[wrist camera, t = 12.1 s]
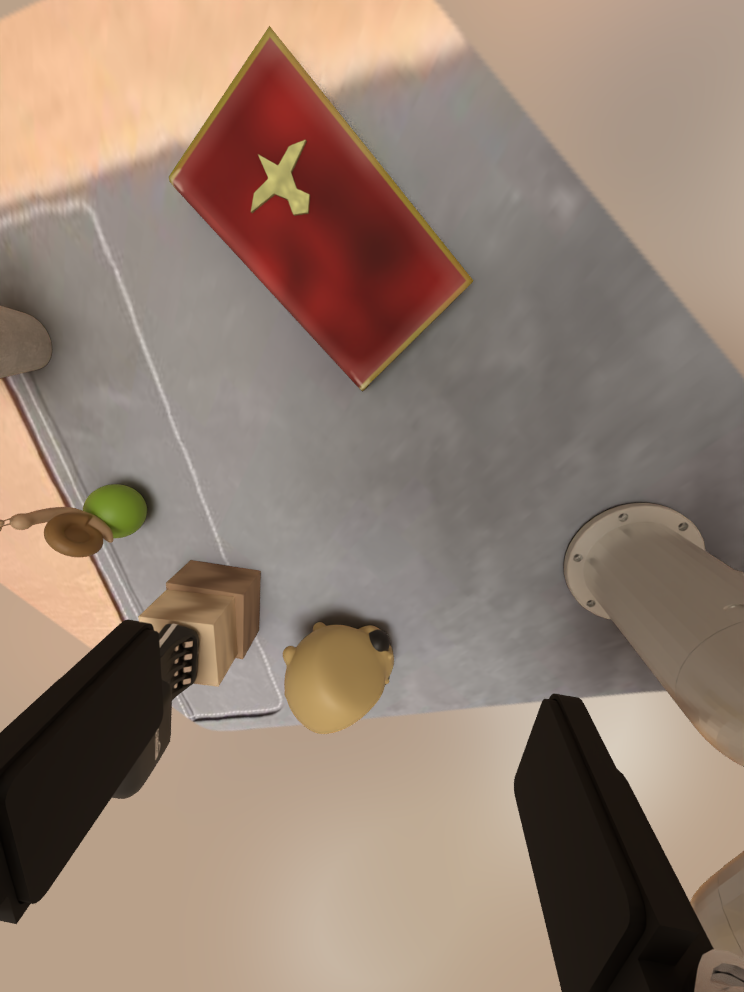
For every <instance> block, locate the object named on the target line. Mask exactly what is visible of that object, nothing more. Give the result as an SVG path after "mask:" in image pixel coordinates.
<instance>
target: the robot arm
mask: <svg viewBox="0 0 744 992" xmlns="http://www.w3.org/2000/svg"><path fill="white" fill-rule="evenodd" d="M620 514H621V515H620ZM619 515H620V516H619ZM564 576H565V580H566V583H567V586H568V588H569V589H570V591H571V593H572V595H573V596H574V597H575V599H576V600H577V601H578V602H579V603H580V604H581V605H582V606H583V607H584V608H585V609H586V610H588V611H590V612H592V613H593V614H595V615H597V616H600V617H603V618H606V619H611V620H612V621H613V622H614V623H615V625H616V626H617V627H618V629H619V630H620V631H621V632H622V634H623V635H624V636H625V638H626V639H627V640H628V641H629V643H630V644H631V645H632V647H633V648H634V649H635V651H636V652H637V653H638V654H639V656H640V657H641V658H642V660H643V661H644V662H645V663H646V665H647V666H648V667H649V669H650V670H651V671H652V673H653V674H654V675H655V676H656V678H657V679H658V680H659V682H660V683H661V684H662V686H663V687H664V688H665V689H666V691H667V692H668V693H669V694H670V696H671V697H672V698H673V700H674V701H675V702H676V703H677V705H678V706H679V707H680V709H681V710H682V711H683V712H684V714H685V715H686V717H687V718H688V719H689V720H690V721H691V723H692V724H693V725H694V727H695V728H696V729H697V730H698V732H699V733H700V734H701V735H702V736H703V737H704V738H705V739H706V740H707V741H708V742H709V743H710V744H711V745H712V746H713V747H715V748H716V749H717V750H718V751H719V752H721V753H722V754H724V755H725V756H727V757H728V758H729V759H731V760H732V761H734V762H736V763H737V764H739V765H742V766H743V767H744V573H743V572H742V571H737V570H734V569H732V568H731V567H729V566H728V565H726V564H725V563H723V562H722V561H720V560H718V559H717V558H715V557H714V556H712V555H711V554H709V553H708V552H706V550H705V544H704V540H703V538H702V536H701V534H700V532H699V530H698V529H697V528H696V526H695V525H694V524H693V523H692V522H691V521H690V520H689V519H687V518H686V517H685V516H683V515H682V514H680V513H678V512H676V511H675V510H673V509H670V508H668V507H665V506H662V505H658V504H651V503H632V504H626V505H621V506H618V507H615V508H612V509H609V510H607V511H605V512H603V513H601V514H599V515H598V516H596V517H594V518H593V519H592V520H590V521H589V522H588V523H586V524H585V525H584V526H583V527H582V528H581V529H580V531H579V532H578V533H577V534H576V535H575V537H574V538H573V540H572V541H571V543H570V545H569V547H568V550H567V552H566V555H565V561H564ZM163 712H164V711H163V694H162V677H161V660H160V642H159V633H158V632H157V631H154V627H153V625H152V624H150V623H145V622H139V621H133V620H125V621H123V622H122V623H121V624H119V625H118V626H117V627H116V628H115V629H114V630H113V631H112V632H111V633H110V634H109V635H107V636H106V637H105V638H104V639H103V640H102V641H101V642H100V643H99V644H98V645H96V646H95V647H94V648H93V649H92V650H91V651H90V652H89V653H88V654H87V655H86V656H85V657H83V658H82V659H81V660H80V661H79V662H78V663H77V664H76V665H75V666H74V667H72V668H71V669H70V670H69V671H68V672H67V673H66V674H65V675H64V676H63V677H61V678H60V679H59V680H58V681H57V682H55V683H54V684H53V685H52V686H51V687H50V688H49V689H48V690H47V691H45V692H44V693H43V694H42V695H41V696H40V697H39V698H38V699H37V700H36V701H35V702H33V703H32V704H31V705H30V706H29V707H28V708H27V709H26V710H25V711H24V712H22V713H21V714H20V715H19V716H18V717H17V718H16V719H15V720H14V721H13V722H11V723H10V724H9V725H8V726H7V727H6V728H5V729H4V730H3V731H2V732H1V733H0V921H4V922H9V923H14V924H17V922H18V921H19V920H20V918H21V917H22V915H23V914H24V912H25V911H26V910H27V908H28V907H29V905H30V904H31V903H32V904H34V903H37V902H38V901H40V900H41V899H42V897H43V896H44V895H45V894H46V893H47V891H48V890H49V889H50V887H51V886H52V884H53V882H54V881H55V880H56V878H57V877H58V875H59V874H60V872H61V871H62V869H63V868H64V867H65V865H66V864H67V862H68V861H69V859H70V858H71V856H72V855H73V853H74V852H75V850H76V849H77V848H78V846H79V845H80V843H81V842H82V840H83V838H84V837H85V835H86V834H87V833H88V831H89V830H90V828H91V827H92V825H93V824H94V822H95V821H96V820H97V818H98V816H99V815H100V814H101V812H102V811H103V809H104V808H105V806H106V805H107V803H108V801H110V799H111V798H112V796H113V795H114V793H115V792H116V790H117V789H118V787H119V786H120V784H121V783H122V781H123V780H124V778H125V777H126V776H127V774H128V773H129V771H130V770H131V768H132V767H133V765H134V764H135V762H136V761H137V759H138V758H139V756H140V755H141V754H142V752H143V751H144V749H145V748H146V746H147V745H148V743H149V742H150V740H151V739H152V737H153V736H154V734H155V733H156V731H157V730H158V728H159V726H160V724H161V722H162V719H163ZM514 793H515V798H516V802H517V806H518V811H519V815H520V819H521V823H522V827H523V832H524V836H525V840H526V844H527V848H528V852H529V857H530V861H531V865H532V869H533V873H534V878H535V882H536V886H537V890H538V894H539V898H540V903H541V907H542V911H543V915H544V919H545V923H546V928H547V932H548V936H549V940H550V944H551V949H552V953H553V957H554V961H555V965H556V969H557V974H558V977H559V982H560V986H561V990H562V992H744V851H743V852H742V853H740V854H739V855H738V856H737V857H735V858H734V859H732V860H731V861H730V862H728V863H727V864H726V865H724V866H723V868H721V869H720V870H719V871H717V872H716V873H715V874H714V875H712V876H711V877H710V878H709V879H708V880H707V881H706V882H704V883H703V884H702V885H701V886H700V887H699V889H698V890H697V891H696V893H695V894H694V895H693V897H692V899H691V901H690V902H689V900H688V898H687V896H686V894H685V892H684V890H683V888H682V886H681V884H680V882H679V880H678V878H677V876H676V874H675V872H674V871H673V869H672V866H671V865H670V863H669V861H668V859H667V857H666V855H665V853H664V851H663V849H662V847H661V845H660V843H659V841H658V839H657V838H656V835H655V833H654V832H653V830H652V828H651V826H650V824H649V822H648V820H647V818H646V816H645V814H644V812H643V810H642V808H641V806H640V804H639V802H638V800H637V798H636V797H635V795H634V793H633V791H632V789H631V787H630V785H629V783H628V781H627V780H626V778H625V777H624V775H623V774H622V773H621V772H620V771H619V770H618V769H617V768H616V766H615V764H614V763H613V760H612V758H611V756H610V754H609V752H608V750H607V749H606V747H605V745H604V743H603V741H602V739H601V737H600V735H599V733H598V731H597V729H596V727H595V725H594V723H593V721H592V719H591V717H590V715H589V713H588V711H587V709H586V707H585V705H584V703H583V702H582V700H581V699H580V698H577V697H571V696H565V695H560V694H552V695H551V696H550V698H549V699H544V700H543V701H542V703H541V706H540V709H539V711H538V714H537V717H536V720H535V723H534V725H533V728H532V731H531V734H530V736H529V739H528V742H527V745H526V748H525V750H524V753H523V756H522V759H521V762H520V764H519V767H518V770H517V773H516V775H515V779H514Z"/></svg>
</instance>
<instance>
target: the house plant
mask: <svg viewBox="0 0 744 992" xmlns="http://www.w3.org/2000/svg"><path fill="white" fill-rule="evenodd" d="M51 354H52V344H51V340H50V337H49V334H48V333H47V331H46V329H45V328H44V326H43V325H42V324H41V323H40V322H39V321H38V320H37V319H35V318H34V317H33V316H31V315H29V314H26V313H23V312H20V311H16V310H13V309H10V308H6V307H3V306H0V378H3V377H7V376H12V375H16V374H20V373H25V372H29V371H33V370H38V369H40V368H43V367H44V366H45V365H46V364H47V363H48V362H49V360H50V358H51Z"/></svg>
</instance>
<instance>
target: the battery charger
mask: <svg viewBox="0 0 744 992" xmlns="http://www.w3.org/2000/svg"><path fill="white" fill-rule="evenodd" d="M159 642H160V660H161V677H162V694H163V711H164V712H163V719H162V722H161V724H160V726H159V728H158V730H157V731H156V733H155V734H154V736H153V737H152V739H151V740H150V742H149V743H148V745H147V746H146V748H145V749H144V751H143V752H142V754H141V755H140V756H139V758H138V759H137V761H136V762H135V764H134V765H133V767H132V768H131V770H130V771H129V773H128V774H127V776H126V777H125V778H124V780H123V781H122V783H121V784H120V786H119V787H118V789H117V790H116V792H115V793H114V795H113V796H112V798H118V799H120V798H121V799H125V798H128V797H131V796H132V795H134V794H135V793H137V792H138V791H139V790H140V789H141V787H142V786H143V785H144V783H145V782H146V780H147V779H148V777H149V776H150V774H151V772H152V771H153V769H154V767H155V766H156V764H157V763H158V761H159V760H160V758H161V756H162V754H163V753H164V751H165V749H166V748H167V746H168V744H169V742H170V736H171V709H172V700H173V699H174V698H175V697H176V696H177V695H178V694H180V693H181V692H182V691H184V690H185V689H187V688H188V687H189V686H190V685H192V684H193V683H194V682H195V680H196V678H197V673H198V658H199V636H198V634H197V632H196V631H194V630H192V629H190V628H187V627H184V626H179V625H178V624H174V623H173V624H166V625H165V626H164V627H163V628H162V630H161V631H160V632H159Z"/></svg>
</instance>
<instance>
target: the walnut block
mask: <svg viewBox="0 0 744 992" xmlns="http://www.w3.org/2000/svg"><path fill="white" fill-rule="evenodd" d="M260 578H261V571H259V570H252V569H245V568H239V567H232V566H226V565H219V564H213V563H206V562H200V561H193V560H190V561H189V562H188V563H187V564H186V565H185V566H184V567H183V568H182V569H181V570H179V571H178V572H177V573H176V574H175V575H174V576H173V577H172V578H171V579H170V580H169V581H167V582H166V589H167V590H176V591H186V592H195V593H205V594H214V595H224V596H233V597H234V600H235V616H236V632H237V648H238V654H237V656H236V658H239V659H243V658H244V656H245V655H246V653H247V651H248V649H249V647H250V646H251V644H252V642H253V640H254V638H255V637H256V635H257V633H258V631H259V614H260Z"/></svg>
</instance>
